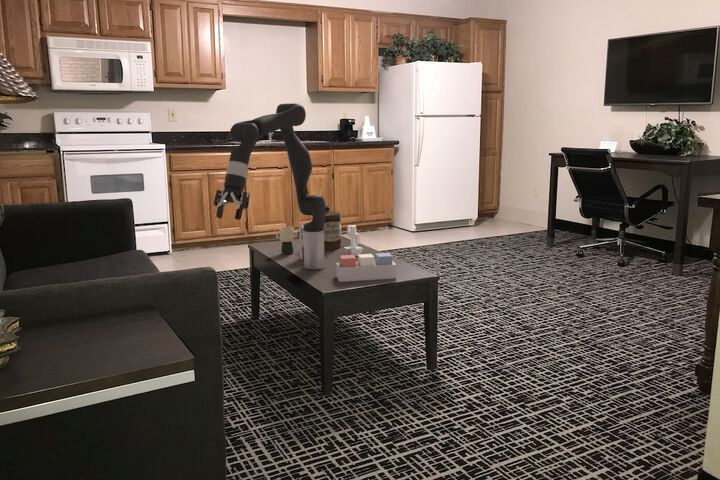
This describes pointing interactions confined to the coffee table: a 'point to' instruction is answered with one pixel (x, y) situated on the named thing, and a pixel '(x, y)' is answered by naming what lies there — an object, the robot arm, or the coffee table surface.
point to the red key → (347, 260)
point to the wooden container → (332, 229)
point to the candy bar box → (301, 242)
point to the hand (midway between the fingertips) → (228, 218)
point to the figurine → (353, 241)
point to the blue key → (383, 258)
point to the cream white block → (365, 259)
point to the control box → (365, 272)
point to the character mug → (286, 239)
